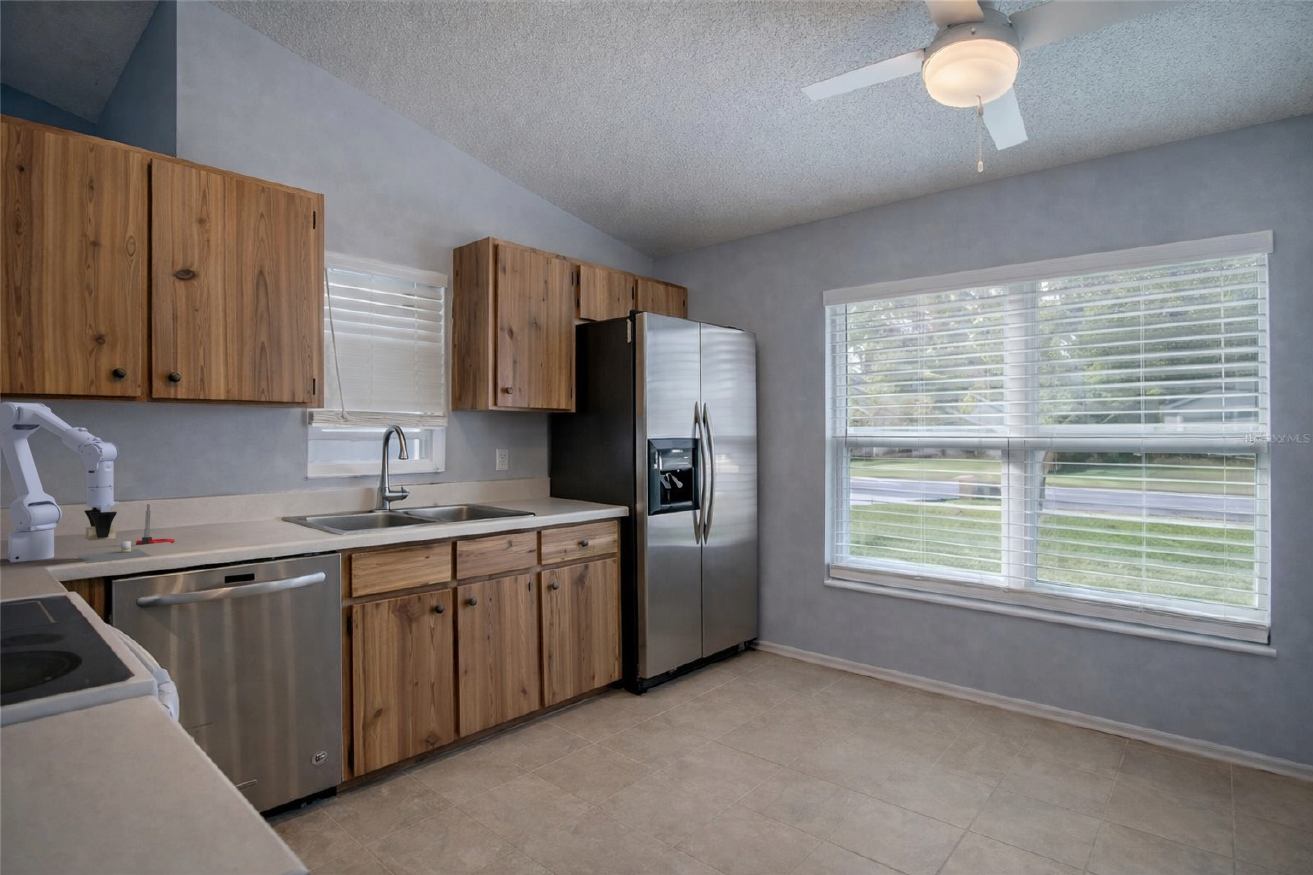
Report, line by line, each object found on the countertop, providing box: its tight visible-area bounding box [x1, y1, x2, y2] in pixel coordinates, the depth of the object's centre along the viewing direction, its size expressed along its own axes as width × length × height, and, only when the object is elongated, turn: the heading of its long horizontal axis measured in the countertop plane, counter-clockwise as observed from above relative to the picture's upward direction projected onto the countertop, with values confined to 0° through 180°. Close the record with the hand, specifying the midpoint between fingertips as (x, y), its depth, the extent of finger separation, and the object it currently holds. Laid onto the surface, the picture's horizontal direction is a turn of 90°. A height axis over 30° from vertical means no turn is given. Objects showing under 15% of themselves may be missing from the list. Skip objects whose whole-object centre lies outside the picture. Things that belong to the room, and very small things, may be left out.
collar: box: [85, 524, 117, 541], centre depth 188 cm, size 6×6×3 cm
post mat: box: [76, 540, 152, 564], centre depth 193 cm, size 14×16×4 cm
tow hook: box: [135, 503, 176, 546], centre depth 220 cm, size 8×13×9 cm
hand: (100, 536), depth 188 cm, fingers closed on collar, 6 cm apart
